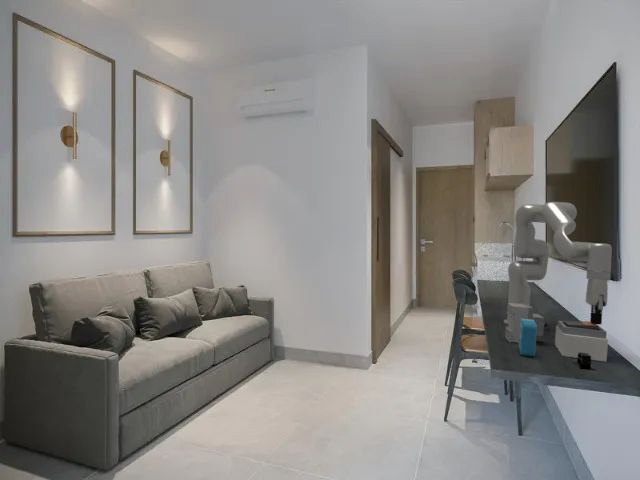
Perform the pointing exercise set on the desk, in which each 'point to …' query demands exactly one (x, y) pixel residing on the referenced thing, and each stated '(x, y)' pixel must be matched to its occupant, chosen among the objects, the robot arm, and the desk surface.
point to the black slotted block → (583, 361)
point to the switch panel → (581, 342)
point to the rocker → (581, 325)
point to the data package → (527, 337)
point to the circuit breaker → (515, 317)
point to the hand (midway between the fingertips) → (595, 323)
